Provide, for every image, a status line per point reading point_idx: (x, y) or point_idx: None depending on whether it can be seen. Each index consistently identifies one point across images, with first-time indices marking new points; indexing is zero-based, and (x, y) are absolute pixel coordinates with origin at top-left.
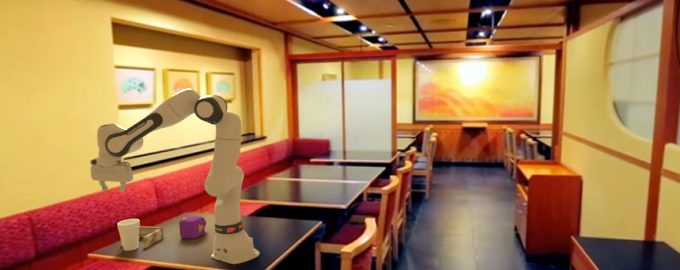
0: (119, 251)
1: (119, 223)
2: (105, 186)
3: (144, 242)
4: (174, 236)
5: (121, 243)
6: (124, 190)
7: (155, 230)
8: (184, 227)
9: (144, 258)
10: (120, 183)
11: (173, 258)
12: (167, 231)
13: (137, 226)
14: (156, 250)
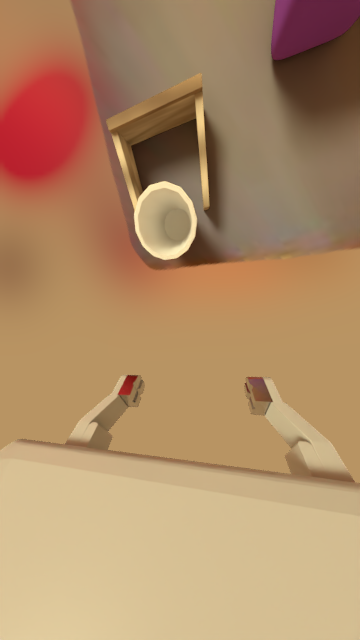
0: None
1: (146, 242)
2: (131, 401)
3: (206, 208)
4: (231, 57)
5: None
6: (271, 379)
7: (177, 107)
8: (330, 1)
9: (248, 258)
10: (294, 465)
11: (318, 235)
12: (159, 3)
13: (196, 217)
14: (247, 211)
